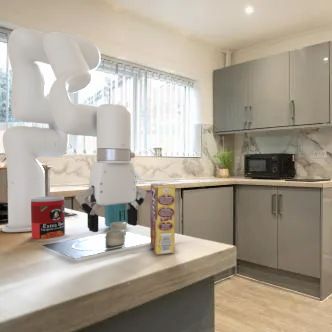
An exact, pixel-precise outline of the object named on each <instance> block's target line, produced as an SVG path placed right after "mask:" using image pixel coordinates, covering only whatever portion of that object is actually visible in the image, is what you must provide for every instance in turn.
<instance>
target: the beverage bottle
mask: <svg viewBox="0 0 332 332" xmlns="http://www.w3.org/2000/svg"><path fill="white" fill-rule="evenodd" d="M113 222H126V226H127V225H128V205H127V203H124V204H115V205H105V206H104V226H106V227H107V228H111V223H113Z"/></svg>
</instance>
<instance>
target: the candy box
mask: <svg viewBox="0 0 332 332" xmlns="http://www.w3.org/2000/svg"><path fill="white" fill-rule="evenodd" d="M149 205H150V206H149V207H150V212H149V213H150V219H149V220H150V221H149V222H150V225H149V226H150V228H149V229H150V230H149V231H150V232H149V233H150V234H149V235H150V237H149V238H150V242H149V243H150V246H151V247H152V248H151V249H152V250H153V252H154V253H155V255H169V254H174V253H175V237H176V236H175V235H176V234H175V233H176V232H175V229H176V226H175V225H176V224H175V223H176V185H175V184H173V183H172V184H171V183H167V182H155V183H150V204H149Z"/></svg>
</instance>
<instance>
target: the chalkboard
mask: <svg viewBox="0 0 332 332" xmlns="http://www.w3.org/2000/svg"><path fill="white" fill-rule="evenodd" d="M147 243H150V237H147V236H143V235H140V234H135V233H131V232H127V231H126V234H124V244H121V245H115V246H109V245H106V233H101V234H94V235H90V236H84V237H78V238H71V239H67V240H61V241H56V242H51V243H45V244H41V246H42V247H45V248H47V249H50V250H51V251H54V252H57V253H60V254H61V255H63V256H67V257H68V258H71V259H73V260H76V259H80V258H86V257H90V256H94V255H98V254H103V253H107V252H112V251H116V250H121V249H126V248H130V247H134V246H139V245H142V244H147Z"/></svg>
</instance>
